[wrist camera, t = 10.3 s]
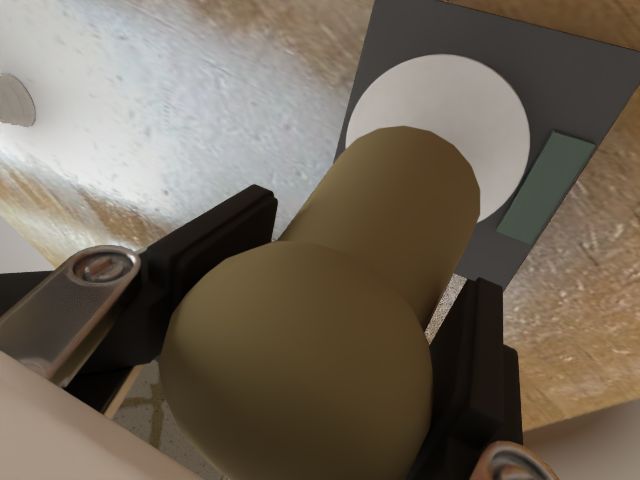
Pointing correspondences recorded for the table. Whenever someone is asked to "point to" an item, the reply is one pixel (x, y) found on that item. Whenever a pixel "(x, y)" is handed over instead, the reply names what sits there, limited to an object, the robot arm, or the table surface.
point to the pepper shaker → (327, 322)
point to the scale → (493, 110)
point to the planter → (159, 420)
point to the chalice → (15, 102)
